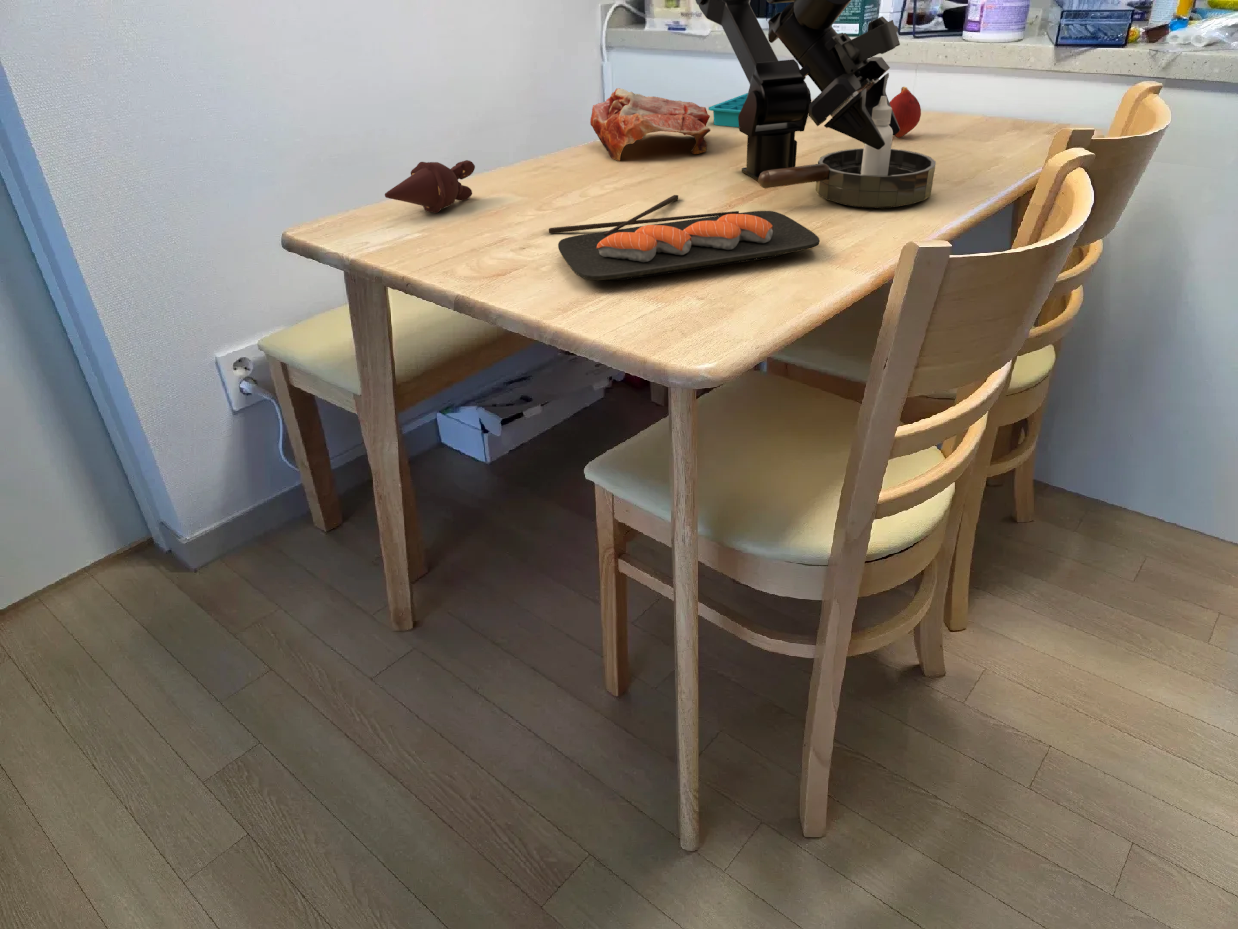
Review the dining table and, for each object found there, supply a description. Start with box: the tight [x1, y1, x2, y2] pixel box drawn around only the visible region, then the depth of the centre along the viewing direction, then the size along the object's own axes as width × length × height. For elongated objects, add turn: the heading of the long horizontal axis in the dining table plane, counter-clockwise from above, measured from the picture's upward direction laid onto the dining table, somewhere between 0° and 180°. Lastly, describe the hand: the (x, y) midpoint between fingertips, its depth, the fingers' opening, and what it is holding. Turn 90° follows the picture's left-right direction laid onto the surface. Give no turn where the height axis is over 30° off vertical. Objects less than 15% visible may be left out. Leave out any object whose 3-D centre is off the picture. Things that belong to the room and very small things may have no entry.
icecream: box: [384, 159, 476, 214], centre depth 115 cm, size 7×7×15 cm
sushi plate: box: [548, 194, 821, 281], centre depth 102 cm, size 29×30×4 cm
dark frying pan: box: [815, 147, 937, 209], centre depth 112 cm, size 15×15×4 cm
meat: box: [589, 87, 711, 162], centre depth 140 cm, size 21×21×10 cm
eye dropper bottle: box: [861, 95, 894, 175], centre depth 110 cm, size 4×6×12 cm
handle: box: [757, 163, 830, 189], centre depth 109 cm, size 10×2×2 cm, turn 107°
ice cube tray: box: [708, 92, 748, 128], centre depth 159 cm, size 12×20×3 cm, turn 145°
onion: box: [889, 86, 922, 139], centre depth 139 cm, size 6×6×8 cm
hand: (889, 139), depth 109 cm, fingers open, 8 cm apart
